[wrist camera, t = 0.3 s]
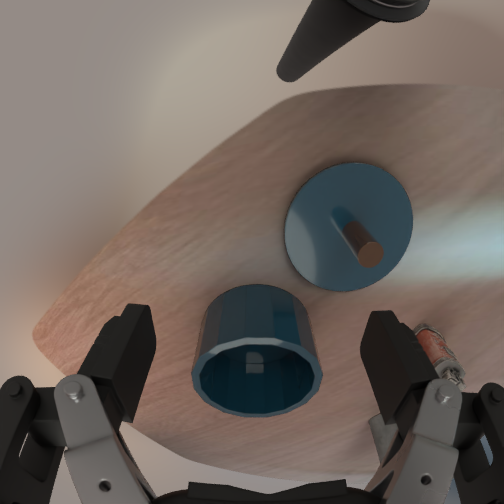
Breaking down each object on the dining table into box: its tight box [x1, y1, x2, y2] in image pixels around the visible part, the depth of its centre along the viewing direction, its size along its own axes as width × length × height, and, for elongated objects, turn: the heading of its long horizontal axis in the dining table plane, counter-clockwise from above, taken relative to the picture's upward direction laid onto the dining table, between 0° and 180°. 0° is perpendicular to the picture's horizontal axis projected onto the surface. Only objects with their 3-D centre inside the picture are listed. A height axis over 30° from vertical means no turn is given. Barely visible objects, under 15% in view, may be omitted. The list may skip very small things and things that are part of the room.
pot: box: [191, 284, 323, 417], centre depth 31 cm, size 13×13×8 cm
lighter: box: [413, 324, 466, 391], centre depth 32 cm, size 8×3×10 cm, turn 55°
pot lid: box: [284, 162, 413, 291], centre depth 26 cm, size 14×14×6 cm
